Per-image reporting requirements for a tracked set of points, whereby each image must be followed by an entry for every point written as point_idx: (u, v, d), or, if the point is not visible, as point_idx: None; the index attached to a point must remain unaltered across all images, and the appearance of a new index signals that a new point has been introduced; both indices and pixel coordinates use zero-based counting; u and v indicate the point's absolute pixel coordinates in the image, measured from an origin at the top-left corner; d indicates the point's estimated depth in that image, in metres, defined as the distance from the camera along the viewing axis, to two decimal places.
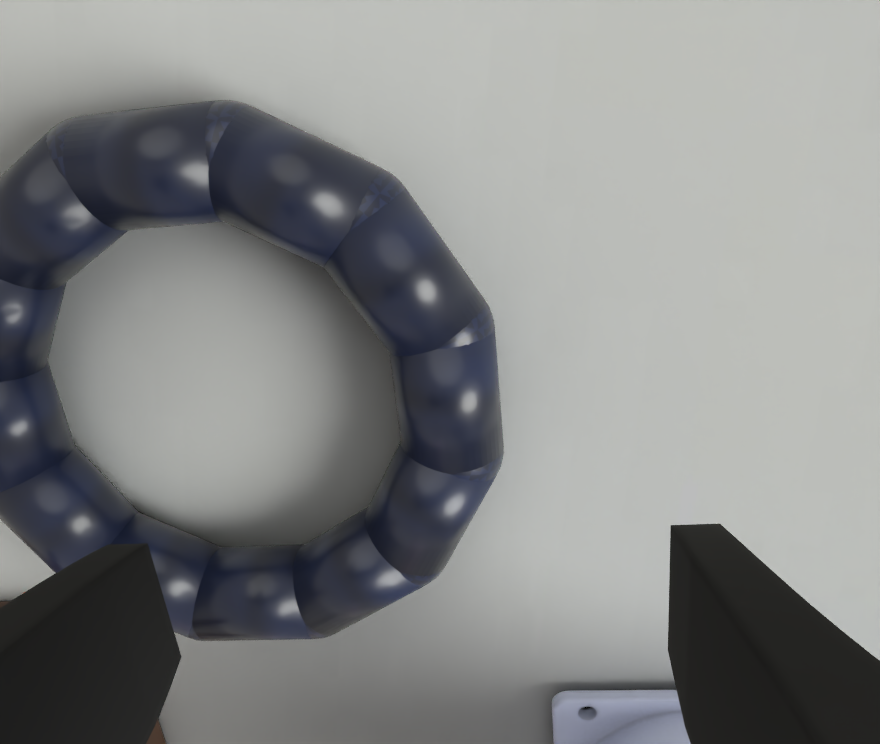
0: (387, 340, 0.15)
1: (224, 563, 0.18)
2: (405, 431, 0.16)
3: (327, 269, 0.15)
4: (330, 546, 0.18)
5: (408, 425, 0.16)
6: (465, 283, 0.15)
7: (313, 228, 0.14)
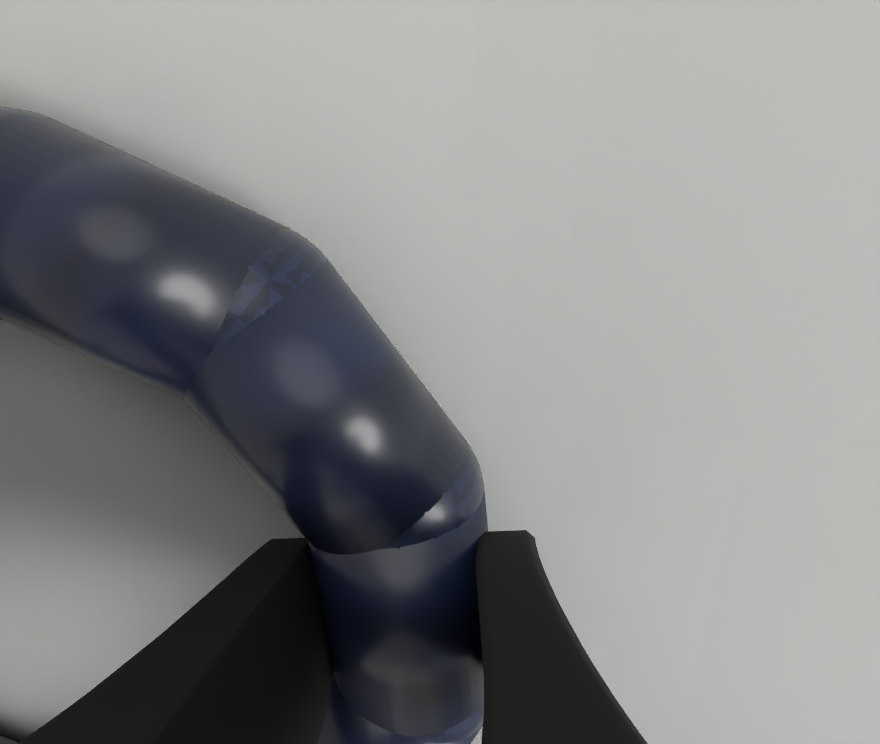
0: (297, 524, 0.09)
1: None
2: (335, 659, 0.10)
3: (189, 404, 0.08)
4: None
5: (339, 653, 0.09)
6: (432, 427, 0.09)
7: (148, 344, 0.08)
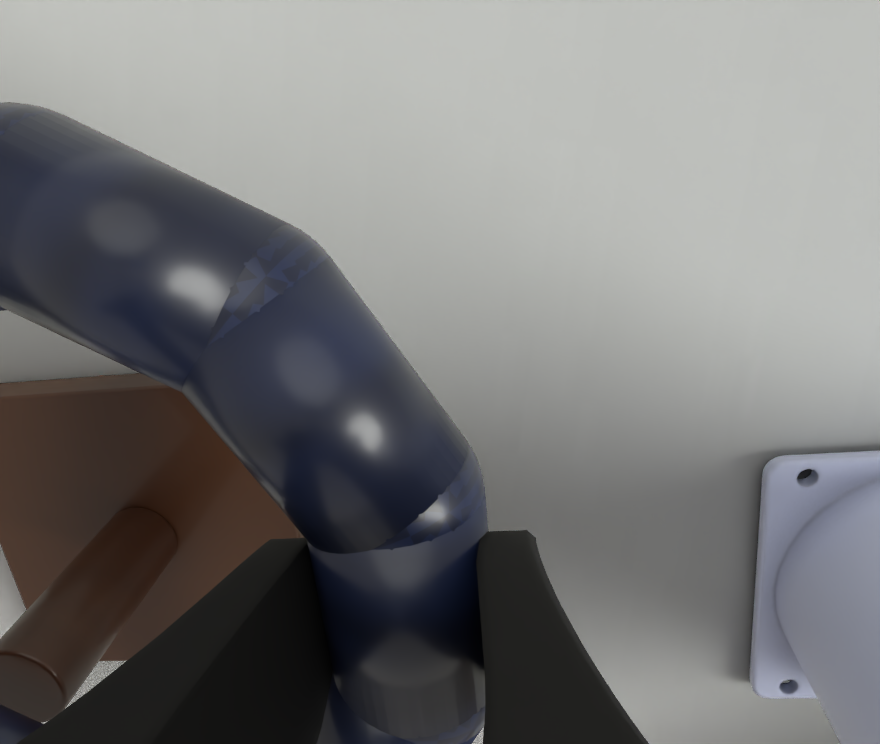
0: (293, 522, 0.09)
1: None
2: (332, 657, 0.10)
3: (188, 399, 0.08)
4: None
5: (335, 651, 0.09)
6: (430, 428, 0.08)
7: (144, 339, 0.08)
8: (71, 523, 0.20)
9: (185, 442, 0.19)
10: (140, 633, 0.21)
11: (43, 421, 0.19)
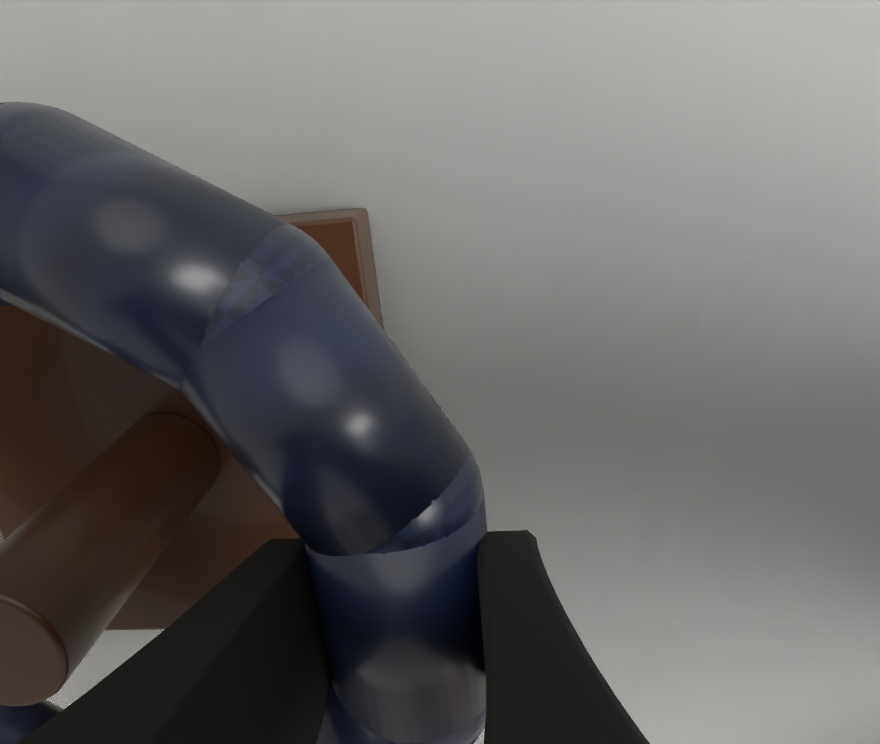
0: (288, 522, 0.09)
1: None
2: (328, 658, 0.10)
3: None
4: None
5: (331, 652, 0.09)
6: (426, 432, 0.08)
7: (142, 337, 0.08)
8: (73, 437, 0.15)
9: None
10: (164, 592, 0.16)
11: None
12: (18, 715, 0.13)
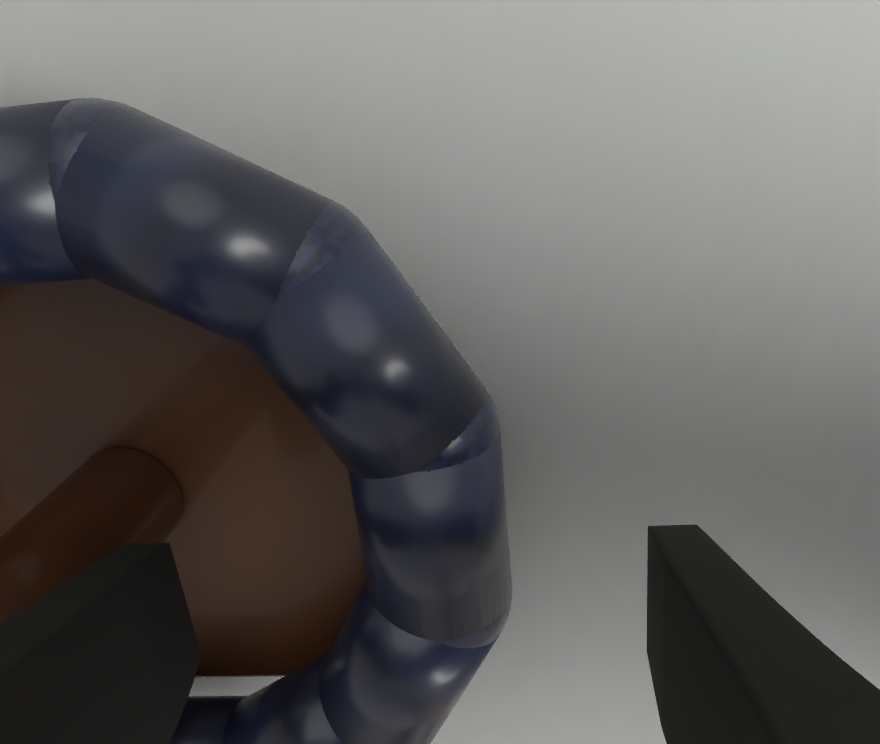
0: (341, 454, 0.10)
1: None
2: (371, 576, 0.11)
3: (250, 351, 0.10)
4: (271, 716, 0.13)
5: (375, 570, 0.11)
6: (456, 370, 0.10)
7: (222, 296, 0.09)
8: (22, 473, 0.13)
9: (198, 341, 0.12)
10: None
11: None
12: None
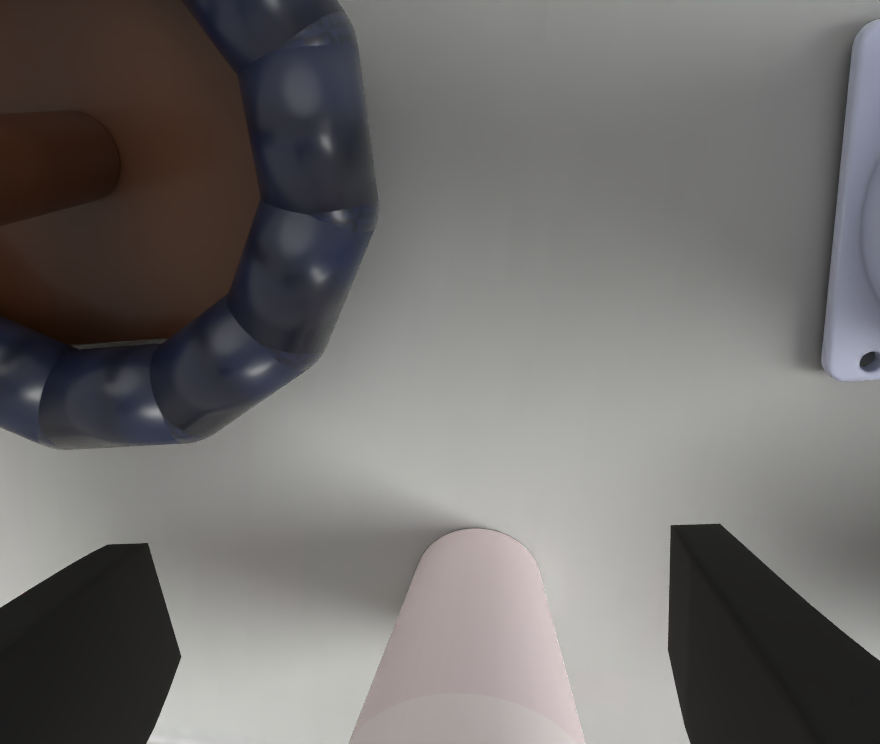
0: (227, 47, 0.13)
1: (78, 357, 0.16)
2: (258, 170, 0.14)
3: None
4: (190, 328, 0.16)
5: (260, 160, 0.14)
6: None
7: None
8: None
9: (127, 6, 0.15)
10: (79, 304, 0.17)
11: None
12: (12, 325, 0.17)
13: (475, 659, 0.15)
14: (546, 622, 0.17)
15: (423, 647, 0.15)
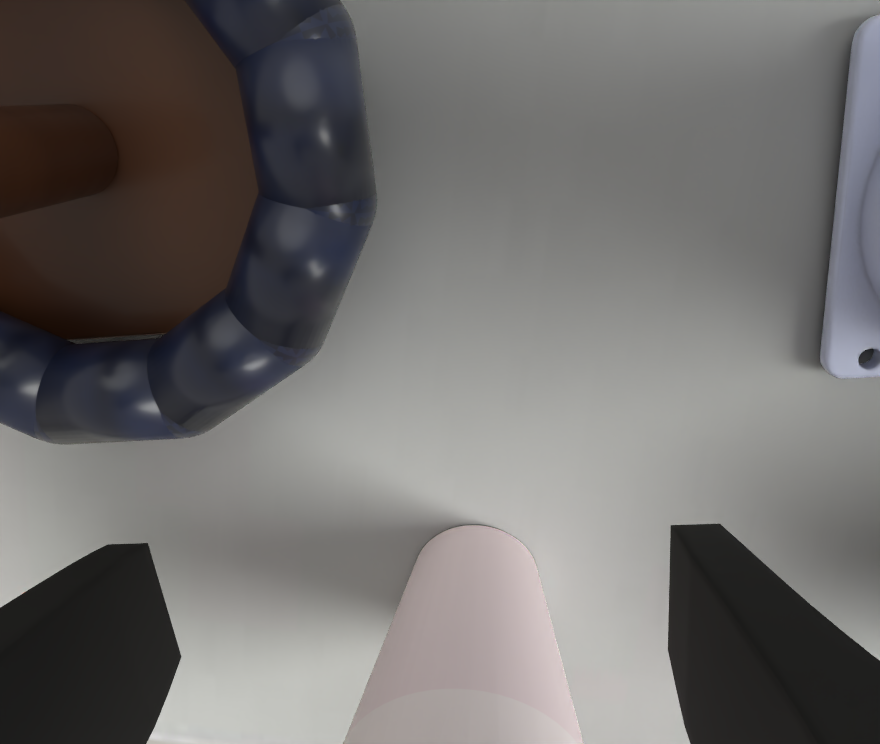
0: (225, 40, 0.13)
1: (75, 352, 0.16)
2: (256, 164, 0.14)
3: None
4: (188, 322, 0.16)
5: (258, 154, 0.14)
6: None
7: None
8: None
9: None
10: (76, 299, 0.17)
11: None
12: (9, 319, 0.17)
13: (472, 655, 0.15)
14: (543, 618, 0.17)
15: (419, 643, 0.15)
